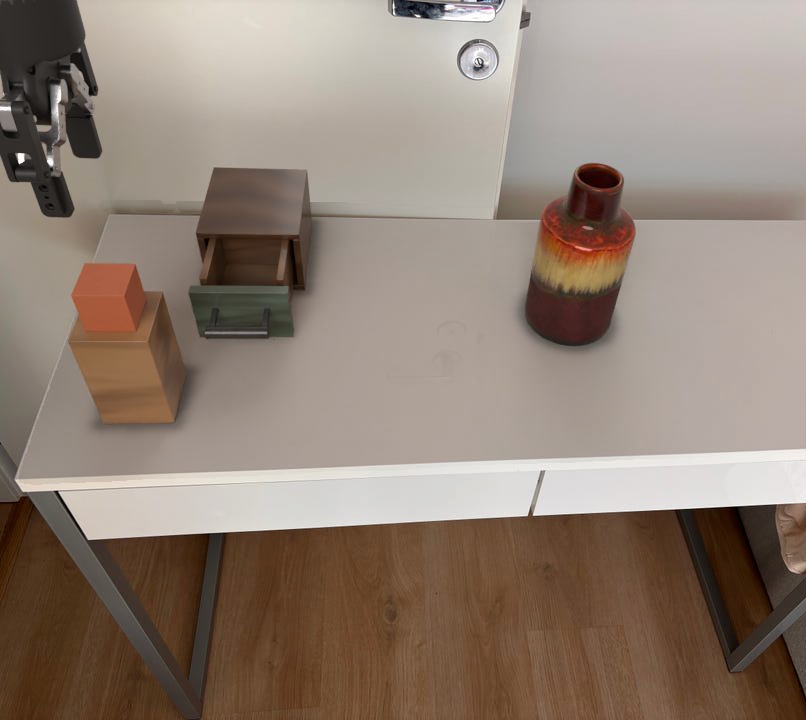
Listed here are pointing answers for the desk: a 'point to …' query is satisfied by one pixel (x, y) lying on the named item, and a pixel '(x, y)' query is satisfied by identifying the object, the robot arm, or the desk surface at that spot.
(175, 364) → the stand
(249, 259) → the drawer
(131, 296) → the block
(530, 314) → the vase
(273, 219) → the cabinet
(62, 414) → the desk surface
